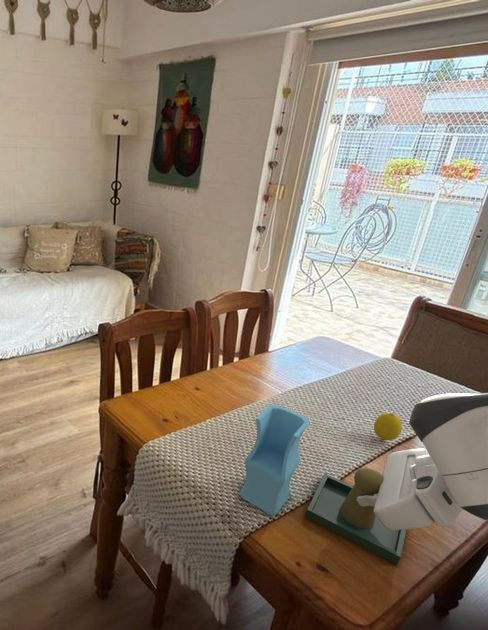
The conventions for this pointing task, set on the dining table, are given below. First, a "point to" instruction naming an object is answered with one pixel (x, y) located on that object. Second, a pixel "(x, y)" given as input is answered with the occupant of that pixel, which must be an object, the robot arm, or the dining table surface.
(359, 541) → the spice tray
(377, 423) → the lemon
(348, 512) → the pepper mill
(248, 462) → the blue toy chair
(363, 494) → the robot arm
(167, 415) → the dining table surface
